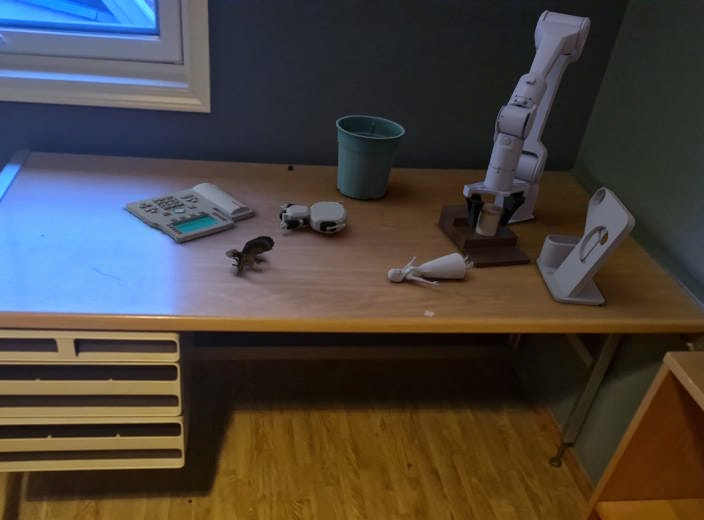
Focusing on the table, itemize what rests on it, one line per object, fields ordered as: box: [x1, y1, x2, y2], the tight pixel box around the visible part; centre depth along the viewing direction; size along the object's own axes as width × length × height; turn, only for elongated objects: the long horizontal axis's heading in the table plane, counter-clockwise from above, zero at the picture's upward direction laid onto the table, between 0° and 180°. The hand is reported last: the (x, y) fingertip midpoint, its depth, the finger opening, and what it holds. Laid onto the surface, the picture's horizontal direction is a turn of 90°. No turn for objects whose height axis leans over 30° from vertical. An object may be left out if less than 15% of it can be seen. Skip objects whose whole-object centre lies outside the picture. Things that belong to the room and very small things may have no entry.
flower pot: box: [335, 114, 406, 200], centre depth 161 cm, size 16×16×16 cm
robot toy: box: [278, 200, 348, 235], centre depth 147 cm, size 12×4×15 cm
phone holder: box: [535, 186, 636, 306], centre depth 132 cm, size 17×10×18 cm, turn 178°
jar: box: [476, 202, 503, 236], centre depth 144 cm, size 5×5×6 cm
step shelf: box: [437, 202, 532, 268], centre depth 146 cm, size 20×13×5 cm, turn 15°
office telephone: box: [125, 182, 254, 243], centre depth 147 cm, size 23×3×20 cm
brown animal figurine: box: [225, 235, 276, 276], centre depth 130 cm, size 8×7×9 cm
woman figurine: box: [387, 252, 474, 287], centre depth 133 cm, size 12×4×18 cm
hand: (487, 225), depth 145 cm, fingers open, 7 cm apart
